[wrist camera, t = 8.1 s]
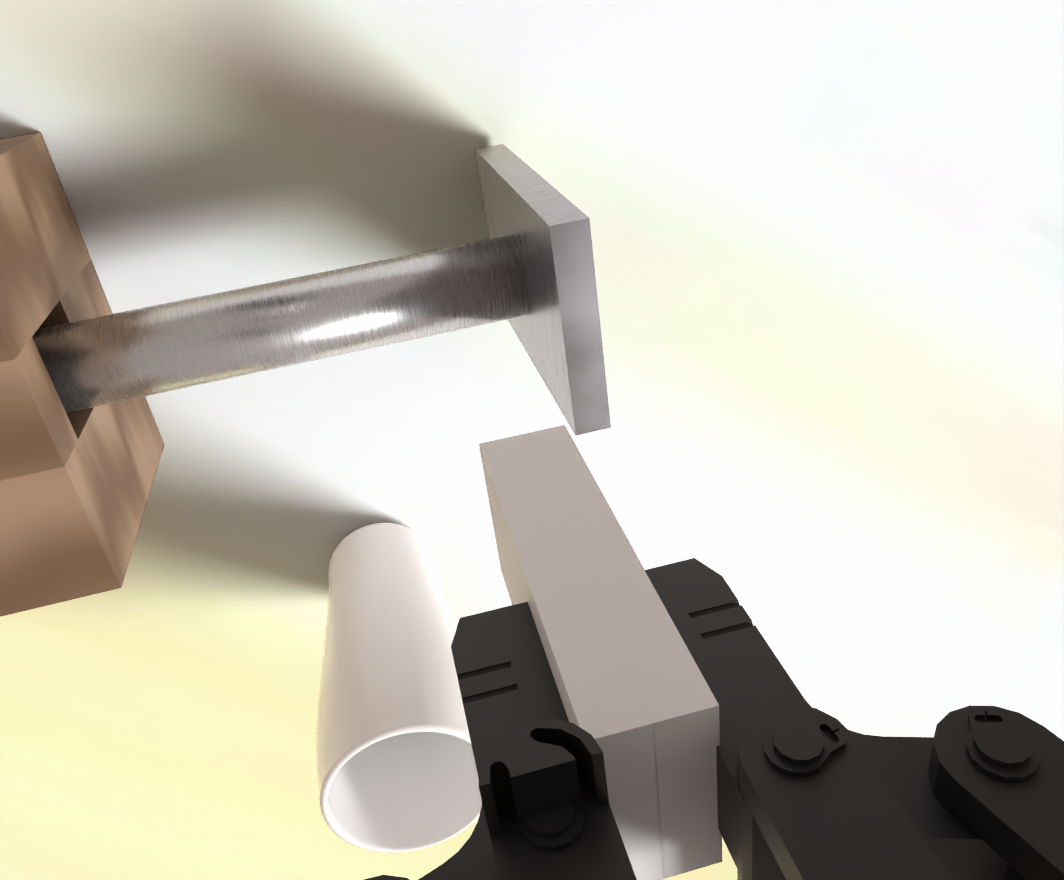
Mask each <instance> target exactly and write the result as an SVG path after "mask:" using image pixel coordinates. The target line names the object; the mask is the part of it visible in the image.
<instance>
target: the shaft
mask: <svg viewBox="0 0 1064 880" xmlns="http://www.w3.org/2000/svg"><path fill="white" fill-rule="evenodd" d="M475 153H476V160H477V166H478V172H479V178H480V185H481V191H482V197H483V203H484V209H485V216H486V222H487V228H488V234H489V239H487V240H482V241H477V242H472V243H467V244H462V245H457V246H452V247H447V248H442V249H437V250H432V251H427V252H422V253H417V254H412V255H407V256H402V257H397V258H391V259H386V260H381V261H376V262H371V263H366V264H361V265H356V266H351V267H346V268H341V269H336V270H331V271H326V272H321V273H316V274H311V275H306V276H301V277H296V278H291V279H286V280H281V281H276V282H271V283H266V284H261V285H256V286H251V287H246V288H241V289H236V290H231V291H226V292H221V293H216V294H211V295H205V296H200V297H195V298H190V299H185V300H180V301H175V302H170V303H165V304H160V305H155V306H150V307H145V308H140V309H135V310H130V311H125V312H120V313H115V314H110V315H105V316H100V317H95V318H90V319H85V320H80V321H75V322H70V323H65V324H60V325H55V326H50V327H45V328H40V329H38V330H37V331H36V332H35V334H34V335H33V336H32V338H33V340H34V343H35V345H36V347H37V349H38V352H39V354H40V356H41V358H42V361H43V363H44V365H45V367H46V369H47V372H48V374H49V376H50V378H51V381H52V383H53V385H54V387H55V389H56V392H57V394H58V396H59V398H60V401H61V403H62V405H63V407H64V410H65V412H66V413H68V412H72V411H77V410H82V409H86V408H91V407H96V406H101V405H105V404H110V403H115V402H120V401H124V400H129V399H134V398H138V397H143V396H148V395H153V394H157V393H162V392H167V391H171V390H176V389H181V388H186V387H190V386H195V385H200V384H205V383H209V382H214V381H219V380H223V379H228V378H233V377H238V376H242V375H247V374H252V373H256V372H261V371H266V370H271V369H275V368H280V367H285V366H290V365H294V364H299V363H304V362H308V361H313V360H318V359H323V358H327V357H332V356H337V355H341V354H346V353H351V352H356V351H360V350H365V349H370V348H374V347H379V346H384V345H389V344H393V343H398V342H403V341H408V340H412V339H417V338H422V337H426V336H431V335H436V334H441V333H445V332H450V331H455V330H459V329H464V328H469V327H474V326H478V325H483V324H488V323H493V322H497V321H502V320H507V319H508V321H509V322H510V324H511V326H512V328H513V329H514V331H515V333H516V334H517V336H518V338H519V340H520V341H521V343H522V345H523V346H524V348H525V350H526V351H527V353H528V355H529V357H530V358H531V360H532V362H533V363H534V365H535V367H536V368H537V370H538V372H539V374H540V375H541V377H542V379H543V380H544V382H545V384H546V386H547V387H548V389H549V391H550V392H551V394H552V396H553V397H554V399H555V401H556V403H557V404H558V406H559V408H560V409H561V411H562V413H563V415H564V416H565V418H566V420H567V421H568V423H569V425H570V426H571V428H572V430H573V432H574V433H575V435H579V434H584V433H588V432H592V431H597V430H601V429H605V428H609V427H611V426H610V416H609V407H608V397H607V387H606V377H605V367H604V358H603V348H602V338H601V328H600V319H599V309H598V299H597V289H596V279H595V270H594V260H593V250H592V240H591V231H590V221H589V217H587V216H586V215H585V214H584V213H583V212H582V211H580V210H579V209H578V208H577V207H576V206H574V205H573V204H572V203H571V202H570V201H569V200H567V199H566V198H565V197H564V196H563V195H562V194H560V193H559V192H558V191H557V190H556V189H555V188H553V187H552V186H551V185H550V184H549V183H548V182H546V181H545V180H544V179H543V178H542V177H541V176H539V175H538V174H537V173H536V172H535V171H534V170H532V169H531V168H530V167H529V166H528V165H527V164H525V163H524V162H523V161H522V160H521V159H520V158H518V157H517V156H516V155H515V154H514V153H513V152H511V151H510V150H509V149H508V148H507V147H506V146H504V145H503V144H500V145H495V146H490V147H484V148H479V149H475Z"/></svg>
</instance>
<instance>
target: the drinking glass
mask: <svg viewBox="0 0 1064 880" xmlns="http://www.w3.org/2000/svg"><path fill="white" fill-rule="evenodd" d="M456 629H457V627H456V624H455V621H454V618H453V616H452V613H451V610H450V608H449V605H448V602H447V599H446V597H445V594H444V591H443V588H442V585H441V583H440V580H439V577H438V574H437V570H436V566H435V561H434V557H433V554H432V551H431V549H430V547H429V545H428V544H427V542H426V541H425V540H424V539H423V538H422V537H421V536H420V535H419V534H418V533H417V532H415V531H414V530H412V529H410V528H408V527H406V526H403V525H399V524H394V523H375V524H370V525H367V526H364V527H361V528H359V529H357V530H355V531H353V532H352V533H350V534H349V535H347V536H346V537H345V538H344V539H343V540H342V541H341V542H340V543H339V544H338V546H337V547H336V549H335V551H334V552H333V555H332V557H331V560H330V564H329V597H328V608H327V619H326V629H325V639H324V649H323V658H322V667H321V676H320V686H319V696H318V708H317V726H316V754H317V772H318V785H319V799H320V808H321V812H322V815H323V817H324V819H325V821H326V823H327V825H328V826H329V827H330V828H331V830H332V831H333V832H334V833H335V834H336V835H338V836H339V837H340V838H341V839H343V840H345V841H346V842H348V843H350V844H352V845H354V846H357V847H360V848H363V849H366V850H371V851H376V852H388V853H397V852H409V851H415V850H420V849H424V848H428V847H431V846H434V845H437V844H439V843H442V842H444V841H446V840H448V839H450V838H452V837H454V836H456V835H457V834H459V833H461V832H462V831H464V830H465V829H466V828H468V827H469V826H470V825H471V824H473V823H474V822H475V821H476V820H477V819H478V818H479V816H480V811H481V807H482V799H481V795H480V791H479V778H478V773H477V769H476V764H475V759H474V754H473V750H472V745H471V740H470V735H469V731H468V726H467V721H466V716H465V712H464V707H463V702H462V697H461V693H460V688H459V683H458V678H457V674H456V669H455V664H454V659H453V655H452V650H451V644H452V641H453V638H454V635H455V632H456Z"/></svg>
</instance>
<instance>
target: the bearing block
mask: <svg viewBox="0 0 1064 880" xmlns="http://www.w3.org/2000/svg"><path fill="white" fill-rule="evenodd" d="M110 314H112V311H111V309H110V306H109V304H108V301H107V299H106V296H105V294H104V291H103V289H102V286H101V283H100V281H99V278H98V276H97V273H96V271H95V268H94V266H93V263H92V261H91V258H90V256H89V253H88V251H87V248H86V245H85V243H84V240H83V238H82V235H81V233H80V230H79V228H78V225H77V223H76V220H75V218H74V215H73V212H72V210H71V207H70V205H69V202H68V200H67V197H66V195H65V192H64V190H63V187H62V185H61V182H60V180H59V177H58V174H57V172H56V169H55V167H54V164H53V162H52V159H51V157H50V154H49V152H48V149H47V147H46V144H45V141H44V139H43V136H42V134H41V132H38V133H32V134H26V135H20V136H14V137H9V138H3V139H0V616H5V615H9V614H13V613H17V612H21V611H26V610H30V609H34V608H38V607H42V606H46V605H51V604H55V603H59V602H63V601H67V600H72V599H76V598H80V597H84V596H88V595H92V594H97V593H101V592H105V591H109V590H113V589H118V588H121V587H122V583H123V580H124V577H125V573H126V570H127V567H128V563H129V560H130V557H131V553H132V550H133V547H134V543H135V540H136V537H137V534H138V530H139V527H140V524H141V520H142V517H143V514H144V510H145V507H146V504H147V500H148V497H149V494H150V491H151V487H152V484H153V481H154V477H155V474H156V471H157V467H158V464H159V461H160V457H161V454H162V451H163V447H164V443H163V441H162V438H161V436H160V433H159V431H158V428H157V425H156V423H155V420H154V418H153V415H152V413H151V410H150V408H149V405H148V403H147V400H146V398H145V396H143V397H138V398H134V399H129V400H124V401H120V402H115V403H110V404H105V405H101V406H96V407H91V408H86V409H82V410H77V411H72V412H68V413H66V412H65V410H64V407H63V405H62V403H61V401H60V398H59V396H58V394H57V392H56V389H55V387H54V385H53V383H52V381H51V378H50V376H49V374H48V372H47V369H46V367H45V365H44V363H43V361H42V358H41V356H40V354H39V352H38V349H37V347H36V345H35V343H34V340H33V338H32V336H33V335H34V334H35V332H36V331H37V330H38V329H40V328H45V327H50V326H55V325H60V324H65V323H70V322H75V321H80V320H85V319H90V318H95V317H100V316H105V315H110Z"/></svg>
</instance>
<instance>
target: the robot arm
mask: <svg viewBox="0 0 1064 880" xmlns="http://www.w3.org/2000/svg"><path fill="white" fill-rule="evenodd" d="M479 446H480V452H481V458H482V463H483V469H484V475H485V480H486V486H487V492H488V497H489V503H490V508H491V514H492V520H493V525H494V531H495V537H496V542H497V548H498V553H499V559H500V565H501V570H502V573H503V577H504V580H505V583H506V586H507V589H508V592H509V595H510V598H511V602H512V606H508V607H504V608H500V609H496V610H492V611H487V612H483V613H479V614H475V615H471V616H467V617H463V618H460V620H459V623H458V626H457V629H456V632H455V635H454V638H453V641H452V644H451V650H452V655H453V659H454V664H455V669H456V674H457V678H458V683H459V688H460V693H461V697H462V702H463V707H464V712H465V716H466V721H467V726H468V731H469V735H470V740H471V745H472V750H473V754H474V759H475V764H476V769H477V773H478V778H479V791H480V795H481V799H482V807H481V811H480V816H479V820H478V823H477V825H476V827H475V829H474V831H473V833H472V835H471V837H470V838H469V839H468V841H467V842H466V843H465V844H464V845H463V847H462V848H461V849H460V850H459V852H457V853H456V854H455V855H454V856H452V857H451V858H450V859H449V860H447V861H446V862H445V863H444V864H442V865H441V866H439V867H438V868H436V869H434V870H433V871H431V872H430V873H428V874H427V875H425V876H424V877H422V878H420V879H419V880H661V879H665V878H668V877H671V876H675V875H678V874H681V873H685V872H688V871H692V870H695V869H698V868H702V867H705V866H708V865H712V864H715V863H719V862H722V837H723V839H724V841H725V843H726V845H727V848H728V850H729V852H730V854H731V856H732V858H733V860H734V862H735V865H736V867H737V869H738V880H1064V741H1062V740H1061V739H1060V738H1058V737H1057V736H1056V735H1054V734H1053V733H1052V732H1050V731H1049V730H1048V729H1046V728H1045V727H1043V726H1042V725H1040V724H1038V723H1036V722H1035V721H1033V720H1031V719H1029V718H1027V717H1026V716H1024V715H1022V714H1020V713H1017V712H1013V711H1010V710H1006V709H1003V708H999V707H995V706H968V707H965V708H962V709H958V710H955V711H952V712H950V713H949V714H948V715H946V716H945V717H944V718H943V719H942V720H941V721H940V722H939V723H938V724H937V727H936V731H935V736H934V738H927V737H880V736H871V735H863V734H860V733H856V732H853V731H849V730H847V729H846V728H845V727H844V726H843V725H842V724H841V723H840V722H839V721H838V720H837V719H835V718H833V717H831V716H829V715H828V714H826V713H824V712H822V711H820V710H818V709H815V708H812V707H811V706H810V705H809V704H808V703H807V702H806V700H805V699H804V698H803V696H802V695H801V693H800V692H799V690H798V689H797V687H796V686H795V685H794V683H793V682H792V680H791V679H790V677H789V676H788V674H787V673H786V671H785V670H784V668H783V667H782V665H781V664H780V662H779V661H778V659H777V658H776V656H775V655H774V653H773V652H772V650H771V649H770V647H769V646H768V644H767V643H766V641H765V640H764V638H763V637H762V635H761V634H760V632H759V631H758V629H757V628H756V626H753V625H752V620H751V619H750V617H749V616H748V615H747V613H746V612H745V610H744V609H743V607H742V606H740V605H739V603H738V600H737V598H736V597H735V595H734V594H733V592H732V591H731V589H730V588H729V586H728V585H727V583H726V582H725V580H724V579H723V577H722V576H721V575H719V574H718V573H716V572H715V571H713V570H711V569H710V568H708V567H707V566H705V565H704V564H702V563H701V562H699V561H698V560H696V559H695V558H693V559H689V560H685V561H681V562H677V563H673V564H669V565H665V566H661V567H657V568H653V569H649V570H644V568H643V567H642V565H641V563H640V561H639V559H638V558H637V556H636V554H635V552H634V550H633V548H632V547H631V545H630V543H629V541H628V539H627V538H626V536H625V534H624V532H623V530H622V529H621V527H620V525H619V523H618V521H617V520H616V518H615V516H614V514H613V512H612V510H611V509H610V507H609V505H608V503H607V501H606V500H605V498H604V496H603V494H602V492H601V491H600V489H599V487H598V485H597V483H596V481H595V480H594V478H593V476H592V474H591V472H590V471H589V469H588V467H587V465H586V463H585V462H584V460H583V458H582V456H581V454H580V452H579V451H578V449H577V447H576V445H575V443H574V442H573V440H572V438H571V436H570V434H569V433H568V431H567V429H566V427H565V425H563V426H559V427H554V428H550V429H545V430H541V431H536V432H532V433H527V434H523V435H518V436H514V437H509V438H504V439H500V440H495V441H491V442H486V443H482V444H479ZM365 880H409V879H407V878H403V877H395V876H387V875H381V876H377V877H373V878H369V879H365Z"/></svg>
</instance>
